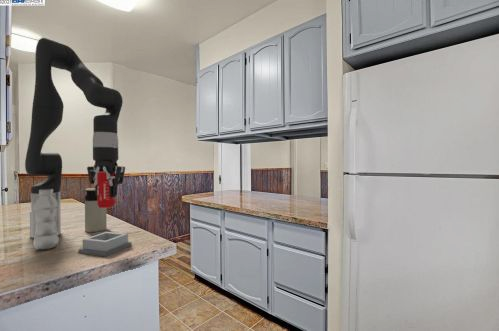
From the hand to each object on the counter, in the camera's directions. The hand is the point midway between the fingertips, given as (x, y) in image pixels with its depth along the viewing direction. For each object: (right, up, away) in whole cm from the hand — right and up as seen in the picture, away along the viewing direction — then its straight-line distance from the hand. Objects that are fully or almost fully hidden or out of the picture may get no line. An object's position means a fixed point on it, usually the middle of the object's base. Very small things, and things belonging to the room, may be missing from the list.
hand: (106, 196), depth 86 cm
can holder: (0, -18, 0) cm, 18 cm away
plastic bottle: (-20, -18, 0) cm, 27 cm away
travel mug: (-18, -18, +24) cm, 35 cm away
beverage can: (0, -4, 0) cm, 4 cm away
